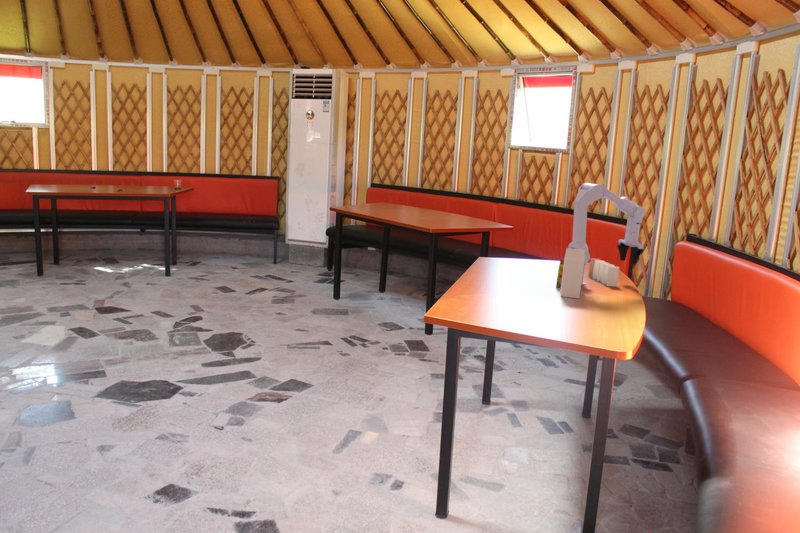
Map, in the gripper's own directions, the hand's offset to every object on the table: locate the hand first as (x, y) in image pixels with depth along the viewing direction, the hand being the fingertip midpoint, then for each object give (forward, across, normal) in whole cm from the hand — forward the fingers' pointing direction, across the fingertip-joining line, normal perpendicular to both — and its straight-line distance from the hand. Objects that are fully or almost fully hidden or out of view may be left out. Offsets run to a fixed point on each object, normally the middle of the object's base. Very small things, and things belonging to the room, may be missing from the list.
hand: (628, 262), depth 287 cm
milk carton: (+10, -22, +44) cm, 50 cm away
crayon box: (+10, -9, +37) cm, 40 cm away
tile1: (+10, -6, +12) cm, 16 cm away
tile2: (+10, -1, +11) cm, 15 cm away
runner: (+10, +3, +10) cm, 15 cm away
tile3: (+10, +3, +10) cm, 14 cm away
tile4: (+10, +8, +9) cm, 15 cm away
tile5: (+10, +13, +8) cm, 18 cm away
